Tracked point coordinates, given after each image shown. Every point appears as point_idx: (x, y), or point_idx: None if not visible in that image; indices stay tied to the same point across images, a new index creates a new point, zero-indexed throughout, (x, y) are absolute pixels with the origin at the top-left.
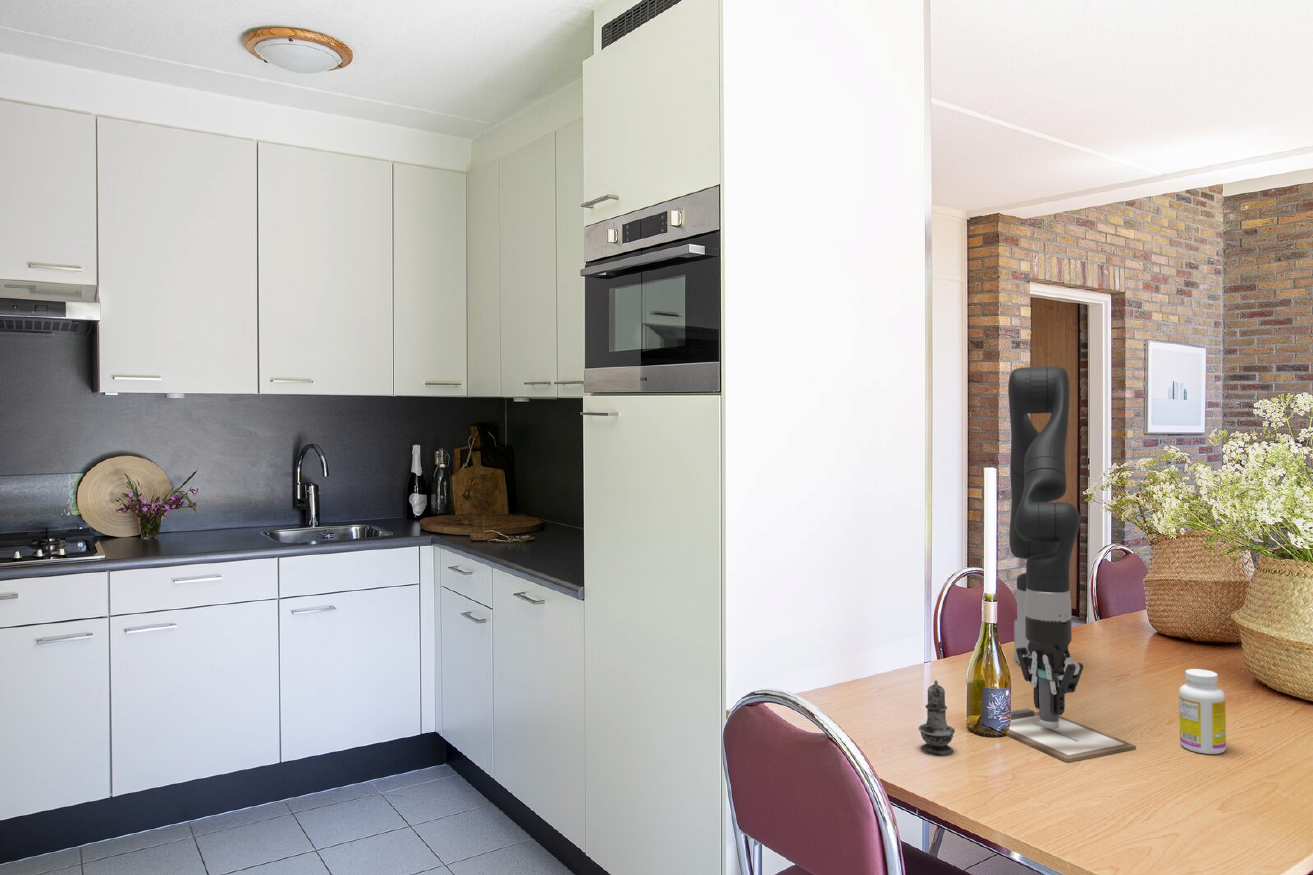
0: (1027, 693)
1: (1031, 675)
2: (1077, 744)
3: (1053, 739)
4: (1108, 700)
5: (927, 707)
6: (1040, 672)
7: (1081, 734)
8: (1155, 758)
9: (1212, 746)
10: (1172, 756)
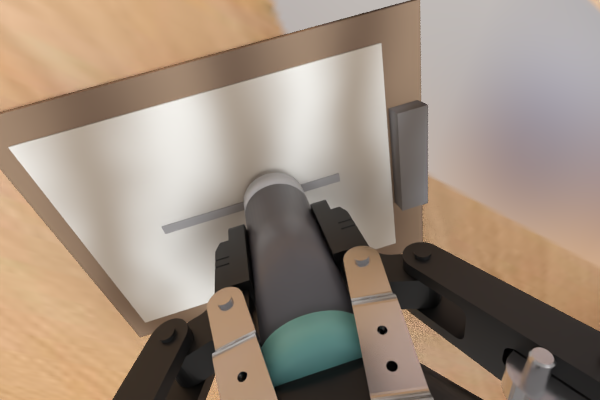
0: (543, 255)
1: (415, 285)
2: (134, 218)
3: (182, 168)
4: (431, 363)
5: None
6: (315, 342)
7: None
8: (77, 345)
9: None
10: (98, 372)
